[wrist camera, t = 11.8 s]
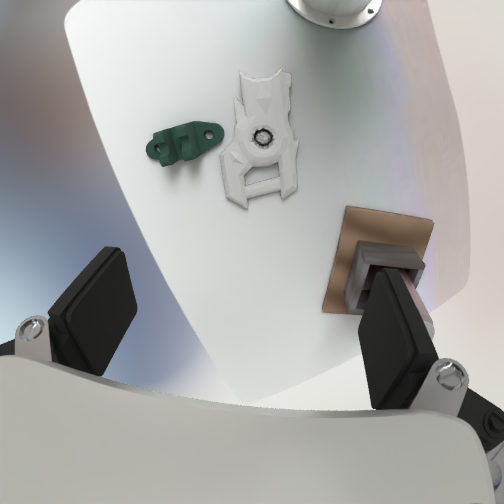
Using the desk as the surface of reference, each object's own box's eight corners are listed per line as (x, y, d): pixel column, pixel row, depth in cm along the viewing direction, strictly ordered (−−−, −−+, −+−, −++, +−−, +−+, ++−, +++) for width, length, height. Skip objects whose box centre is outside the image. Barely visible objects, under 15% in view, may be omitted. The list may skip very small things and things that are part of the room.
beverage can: (387, 289, 43) (415, 360, 30) (357, 279, 43) (379, 352, 30) (406, 259, 40) (445, 326, 27) (376, 246, 40) (409, 315, 27)
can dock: (346, 205, 39) (356, 224, 33) (431, 219, 38) (449, 238, 33) (322, 307, 48) (325, 333, 42) (396, 312, 47) (406, 337, 42)
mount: (220, 114, 35) (211, 117, 30) (228, 146, 37) (220, 153, 32) (145, 135, 37) (129, 141, 32) (154, 165, 39) (138, 174, 34)
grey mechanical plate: (205, 75, 29) (293, 65, 28) (211, 75, 32) (291, 67, 31) (227, 214, 39) (304, 209, 37) (230, 204, 41) (302, 199, 40)
